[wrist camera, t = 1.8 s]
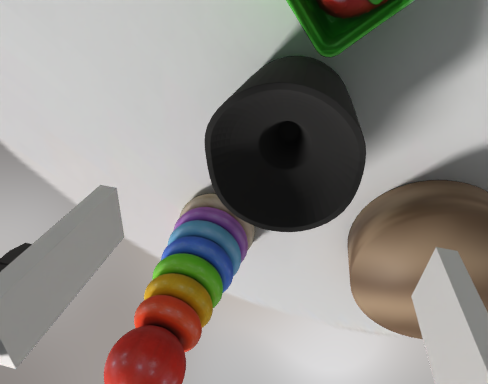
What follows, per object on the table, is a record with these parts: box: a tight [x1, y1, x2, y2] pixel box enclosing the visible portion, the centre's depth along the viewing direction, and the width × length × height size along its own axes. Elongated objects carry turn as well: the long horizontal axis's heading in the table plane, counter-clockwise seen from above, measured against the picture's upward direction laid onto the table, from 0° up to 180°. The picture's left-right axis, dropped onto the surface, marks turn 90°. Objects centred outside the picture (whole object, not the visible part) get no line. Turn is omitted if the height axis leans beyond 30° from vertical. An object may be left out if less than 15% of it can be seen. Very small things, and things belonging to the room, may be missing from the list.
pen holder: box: [205, 56, 366, 232], centre depth 23 cm, size 9×9×10 cm
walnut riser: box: [348, 180, 488, 339], centre depth 29 cm, size 14×14×5 cm
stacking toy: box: [104, 194, 254, 384], centre depth 27 cm, size 8×8×19 cm
